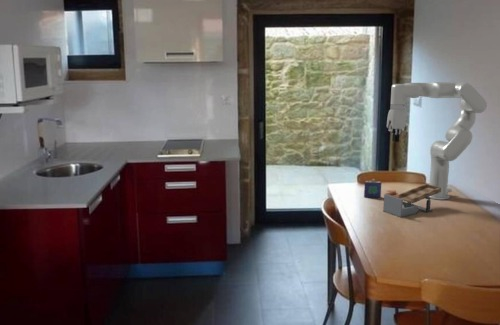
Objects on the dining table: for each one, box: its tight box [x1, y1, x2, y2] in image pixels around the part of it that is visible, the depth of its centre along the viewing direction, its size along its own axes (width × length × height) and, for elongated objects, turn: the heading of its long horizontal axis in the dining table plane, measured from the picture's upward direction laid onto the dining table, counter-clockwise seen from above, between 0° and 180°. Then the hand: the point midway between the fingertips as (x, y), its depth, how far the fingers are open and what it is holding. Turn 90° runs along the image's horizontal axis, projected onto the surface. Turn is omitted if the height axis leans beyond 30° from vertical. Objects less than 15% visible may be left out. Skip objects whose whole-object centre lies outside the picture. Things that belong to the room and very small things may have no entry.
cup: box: [382, 193, 419, 218], centre depth 263 cm, size 12×12×9 cm
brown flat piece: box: [384, 183, 441, 204], centre depth 272 cm, size 21×21×3 cm
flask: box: [363, 178, 382, 199], centre depth 290 cm, size 9×3×11 cm, turn 88°
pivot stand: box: [406, 199, 433, 214], centre depth 270 cm, size 4×15×6 cm, turn 31°
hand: (395, 141), depth 282 cm, fingers closed
